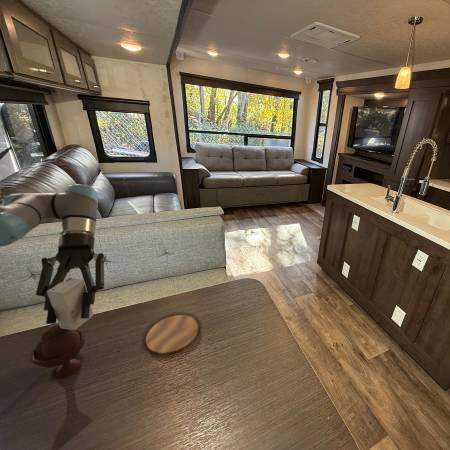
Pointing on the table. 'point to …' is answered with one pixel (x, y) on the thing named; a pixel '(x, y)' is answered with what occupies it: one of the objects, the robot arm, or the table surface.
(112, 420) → the table surface
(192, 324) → the wooden trivet
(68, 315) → the cosmetic box
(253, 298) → the table surface
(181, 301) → the table surface
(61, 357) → the ice cream bowl
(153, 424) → the table surface
